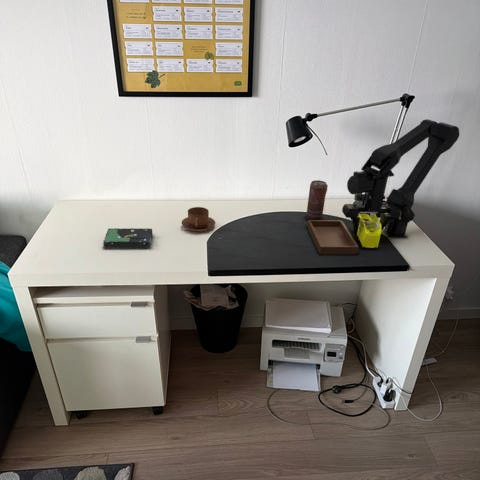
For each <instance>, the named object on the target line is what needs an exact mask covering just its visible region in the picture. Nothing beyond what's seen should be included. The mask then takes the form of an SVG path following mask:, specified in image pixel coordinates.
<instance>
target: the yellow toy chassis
mask: <svg viewBox="0 0 480 480" xmlns="http://www.w3.org/2000/svg"><path fill="white" fill-rule="evenodd" d="M369 214H370V215H369ZM369 214H366V213H359V218H360V222H359V227H358V232H357V234H356V237H358V238H357V239H358V241H359V242H360V244H361V247H362V248H365V249H375V248H376V249H378V247H379V243H380V239H381V235H382V231H381V223H380V219H379V218H378V216H377V213H369ZM379 224H380V225H379ZM379 227H380V228H379Z"/></svg>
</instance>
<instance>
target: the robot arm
mask: <svg viewBox="0 0 480 480" xmlns="http://www.w3.org/2000/svg"><path fill="white" fill-rule="evenodd" d="M459 137H460V128H459V127H458V126H456V125H454V124H451V123H450V124H449V123H447V122H446V123H445V122H437V121H436V120H432V119H428V118H426V119H423V120H422V121H420V123H419V124H418V125H416V126H415V127H414V128H412V129H411V130H409V131H408V132H407V133H405V134H404V135H402V136H401V137H400V138H398V139H397V140H395V141H394V142H392V143H388V144H384V145H382V146H380V147H377V148H376V149H374V150H373V151H372V152H371V155H370V156H369V158H368V159H367V160H366V161H365V163H364V165H362V167H361V169H360V170H361V171H359V170H358V171H357V170H356V171H353V174H352V175H350V177H348V180H347V184H346V187H347V188H346V189H347V191H348V192H349V194H350V195H354V201H356V202H358V204H360V206H362V207H358V206H357V205H356V204H355V203H344V205H343V206H342V209H341V212H342V213H343V215H344V217H345V218H349V219H350V220H351V221H352V226H353V232H354V235H355V236H357V232H358V227H359V222H360V218H359V214H371V213H375V214H380V218H379V222H380V223H381V232H382V231H384V232H385V234H387V236H388V237H389V238H407V237H408V236H407V227H408V225H409V223H410V222H412V221H413V220H414V218H415V216H416V215H415V213H414V211H413V210H412V208H413V205H414V202H415V194H416V193H417V191H418V189H419V188H420V187H421V185H422V183H423V182H424V180H425V179H426V177H427V176H428V174H429V173H430V171H431V170H432V168H433V167H434V165H435V164H436V162H437V161H438V159H439V158H440V157H441V155H443V154H444V153H446V152H447V151H449V150H451V148H452V147H453V146H454V144H456V143H457V141H458V139H459ZM426 139H427V145H426V149H424V152H422V154H421V156H420V157H419V159H418V161H417V162H416V164H415V165H414V167H413V168H412V170H411V172H410V173H409V175H408V176H407V178H406V179H405V181H404V182H403V184H402V185H401V187H399V188H397V189H396V188H392V190H391V191H390V193H389V194H388V196H387V197H386V196H385V193H386V188H387V184H388V181H389V178H391V177H394V176H395V174H394V172H393V171H392V170H393V169H394V168H395V167H396V166H397V165H398V164H399V163H400V161H401V158H402V157H403V156H404V155H405V154H407V153H408V152H410V151H411V150H412V149H413V148H415V147H417V146H419V145H420V144H421V143H422V142H424V141H425V140H426ZM384 200H385V203H384V207H382V206H383V202H384ZM379 225H380V224H379ZM379 228H380V227H379Z"/></svg>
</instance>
